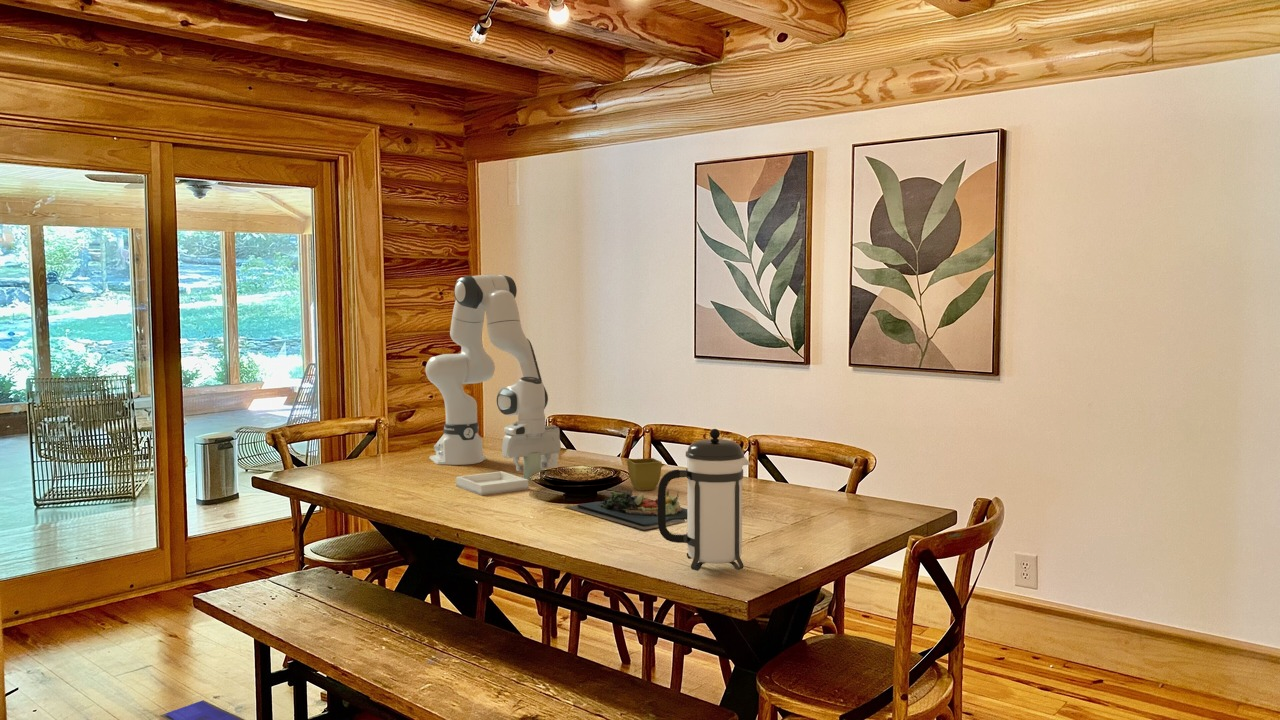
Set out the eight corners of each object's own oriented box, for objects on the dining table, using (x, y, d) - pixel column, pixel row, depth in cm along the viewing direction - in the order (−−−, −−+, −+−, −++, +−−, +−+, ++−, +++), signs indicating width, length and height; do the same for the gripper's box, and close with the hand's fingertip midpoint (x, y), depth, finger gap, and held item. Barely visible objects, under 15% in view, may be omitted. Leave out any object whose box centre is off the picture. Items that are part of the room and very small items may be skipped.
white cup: (557, 472, 319) (557, 443, 319) (534, 472, 319) (534, 443, 319) (560, 468, 327) (559, 440, 326) (537, 468, 327) (537, 440, 327)
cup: (520, 479, 308) (520, 451, 307) (535, 477, 311) (535, 449, 311) (528, 481, 303) (528, 453, 303) (544, 479, 307) (543, 452, 306)
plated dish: (720, 515, 259) (720, 489, 258) (644, 532, 240) (644, 504, 239) (636, 496, 285) (636, 472, 284) (562, 510, 266) (561, 484, 266)
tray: (456, 486, 296) (456, 476, 296) (501, 480, 305) (501, 471, 305) (481, 495, 281) (481, 485, 281) (528, 489, 291) (528, 479, 290)
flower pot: (626, 487, 293) (626, 459, 293) (653, 485, 296) (653, 457, 295) (635, 493, 285) (635, 463, 284) (662, 491, 288) (662, 462, 287)
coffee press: (709, 550, 219) (709, 422, 217) (762, 564, 207) (763, 428, 205) (655, 564, 207) (655, 429, 205) (709, 580, 195) (709, 436, 194)
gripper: (554, 423, 315) (554, 464, 316) (499, 428, 303) (499, 470, 304) (564, 425, 310) (564, 467, 310) (508, 430, 298) (509, 473, 299)
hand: (532, 469), depth 307 cm, fingers open, 8 cm apart
